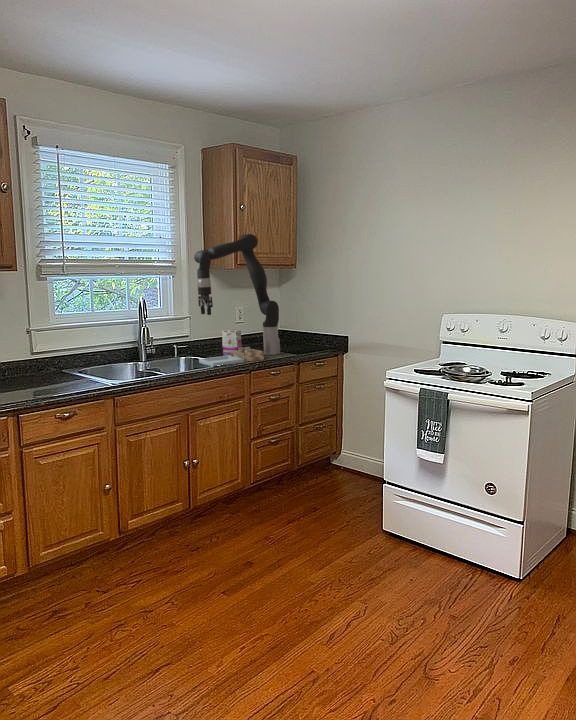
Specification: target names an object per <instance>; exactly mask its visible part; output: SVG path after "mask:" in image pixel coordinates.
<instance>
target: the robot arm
mask: <svg viewBox="0 0 576 720" xmlns="http://www.w3.org/2000/svg"><path fill="white" fill-rule="evenodd" d="M258 243H259V241H258V238H257V236H256V235H254V234H252V233H251V234H250V233H248V234H247V233H246V234H242V235H240V236H239V237H238V239H236V240H233V241H230V242H225V243H222V244H218V245H216V246H215V245H214V246H213V247H212V246H211V247H210V248H206V249H202V250H198V251H196V252H195V253H194V256H193V259H194V262H196V263H197V264H199V267H198V268H197V270H196V271H197V273H196V274H197V277H196V278H197V294H198V296H197V298H198V299H197V300H198V307H199V308H200V314H201V315H207V316H211V315H212V308H213V307H214V305H213V296H210V295H211V294H212V282H211V277H210V275H211V274H210V269H211V261H213V260H218V259H221V258H224V257H226V256H229V255H232V254H235V253H238V252H241V254H242V256H243V259H244V263H245V265H246V267H247V271H248V273H249V277H250V280H251V282H252V285H253V289H254V291H255V292H254V293H255V294H256V295H255V296H256V298H257V299H256V300H257V302H258V303H257V304H258V306H259V310H260V312H261V313H262V314H263V315H264V316H265V319H264V321H263V322H262V335H263V337H262V339H263V354H264V355H266V356H267V355H268V356H274V355H280V354H281V343H280V342H281V341H280V337H279V328H278V326H279V321H280V320H279V319H280V308H279V304H278V302H277V301H275V300H271V299H270V297H269V294H268V291H267V288H268V287H267V286H268V279H267V275H266V272H265V268H264V267H263V265H262V264H261V262H260V261H259V259H258V258H257V257H256V255H255V251H254V249H256V247H257V245H258ZM205 307H206V308H205Z"/></svg>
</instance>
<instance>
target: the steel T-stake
mask: <svg viewBox="0 0 576 720" xmlns="http://www.w3.org/2000/svg"><path fill="white" fill-rule="evenodd" d="M248 349H251V346H244V347H242V350H245V353H248Z"/></svg>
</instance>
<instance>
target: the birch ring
mask: <svg viewBox="0 0 576 720" xmlns="http://www.w3.org/2000/svg"><path fill="white" fill-rule="evenodd" d="M264 355H265V354H264V350H260V349H254V348H250V349H248V353H245V349H242V350H240V351H234V357H237V358H241V359H243V360H244V363H248V362H247V361H250V362H257V361H262V360H264V359H265V358H264Z"/></svg>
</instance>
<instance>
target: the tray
mask: <svg viewBox="0 0 576 720" xmlns="http://www.w3.org/2000/svg"><path fill="white" fill-rule="evenodd" d="M198 363H199V364H201V365H204V366H208V367H211V366H217V365H222V364H234V365H237V364H236V363H242V364H245V362H244V360H243V359H241V358H237V357H233V356H229V355H228V356H223V355H222V356H213V357H206V358H199V359H198Z"/></svg>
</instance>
